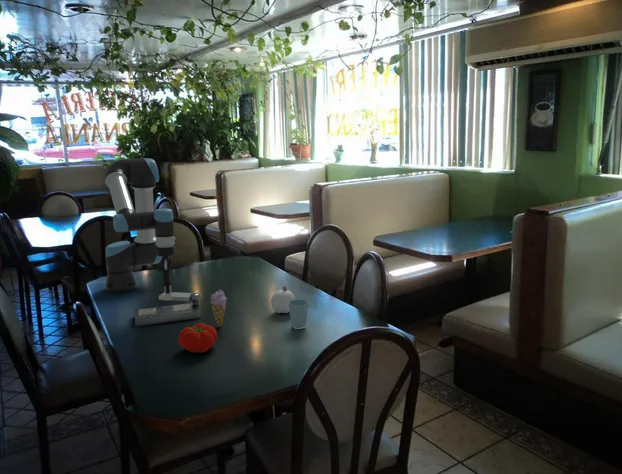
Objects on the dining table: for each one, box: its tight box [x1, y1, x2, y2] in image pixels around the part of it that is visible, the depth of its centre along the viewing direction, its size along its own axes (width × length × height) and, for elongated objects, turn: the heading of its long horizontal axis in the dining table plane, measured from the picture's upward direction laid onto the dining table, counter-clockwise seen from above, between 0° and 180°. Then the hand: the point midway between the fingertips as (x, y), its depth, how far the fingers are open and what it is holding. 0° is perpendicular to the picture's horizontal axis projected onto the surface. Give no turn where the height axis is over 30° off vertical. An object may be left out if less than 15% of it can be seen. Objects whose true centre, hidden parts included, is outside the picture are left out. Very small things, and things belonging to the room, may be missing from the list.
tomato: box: [177, 322, 218, 353], centre depth 178 cm, size 14×13×9 cm
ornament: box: [270, 285, 296, 314], centre depth 214 cm, size 10×10×12 cm
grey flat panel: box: [158, 291, 201, 302], centre depth 217 cm, size 6×18×2 cm, turn 80°
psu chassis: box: [134, 300, 202, 327], centre depth 211 cm, size 12×26×5 cm, turn 110°
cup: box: [289, 298, 309, 328], centre depth 198 cm, size 8×8×10 cm
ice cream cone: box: [210, 289, 229, 328], centre depth 199 cm, size 7×6×15 cm
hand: (168, 299), depth 214 cm, fingers closed
